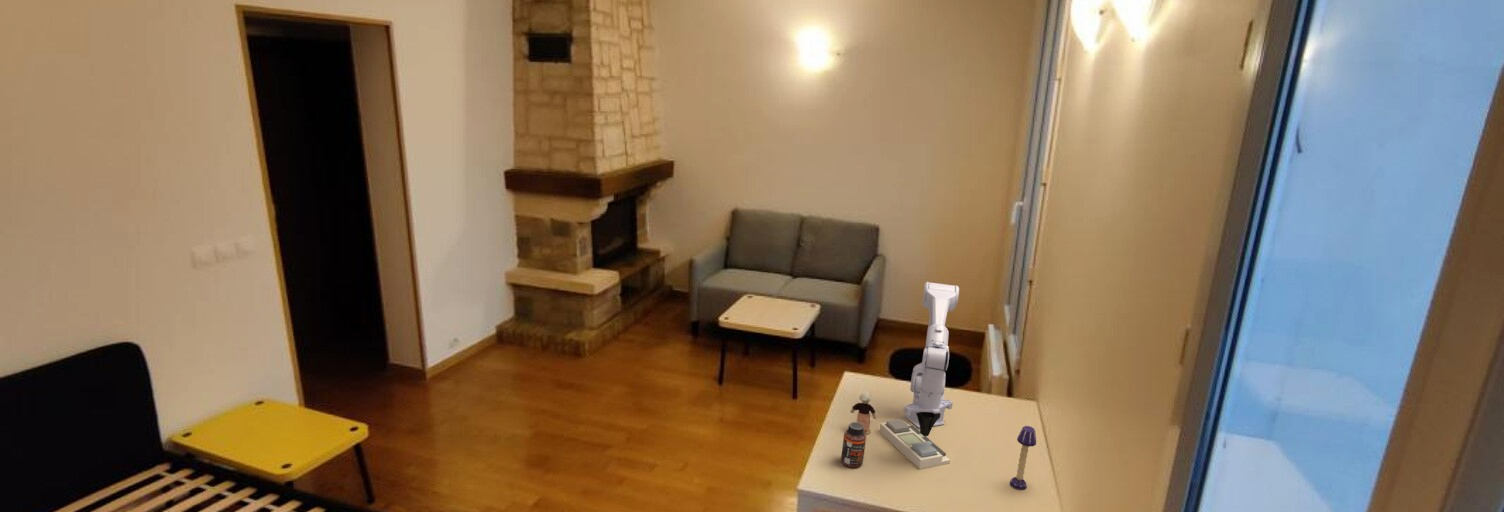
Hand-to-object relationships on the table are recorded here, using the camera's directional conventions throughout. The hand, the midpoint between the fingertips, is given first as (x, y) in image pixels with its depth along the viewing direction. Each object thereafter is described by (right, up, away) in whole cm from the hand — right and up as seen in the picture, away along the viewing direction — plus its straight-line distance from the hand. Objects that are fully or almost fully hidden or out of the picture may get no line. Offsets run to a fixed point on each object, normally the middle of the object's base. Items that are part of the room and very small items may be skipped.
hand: (924, 434), depth 194 cm
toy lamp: (+23, -12, -7) cm, 27 cm away
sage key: (-3, -4, +7) cm, 8 cm away
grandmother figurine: (-15, -3, +15) cm, 21 cm away
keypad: (-1, -5, +8) cm, 10 cm away
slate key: (0, -5, +1) cm, 5 cm away
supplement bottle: (-20, -7, -2) cm, 22 cm away
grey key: (-5, -1, +12) cm, 13 cm away
